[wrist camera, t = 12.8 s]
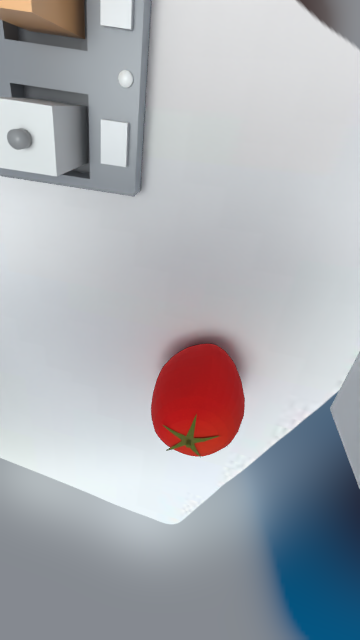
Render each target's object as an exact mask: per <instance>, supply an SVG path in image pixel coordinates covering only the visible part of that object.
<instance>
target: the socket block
mask: <svg viewBox="0 0 360 640" xmlns="http://www.w3.org/2000/svg"><path fill="white" fill-rule="evenodd" d="M150 13H151V0H84V14H85V39H80V38H73V37H67V36H60V35H53V34H46V33H39V32H33V31H28V30H25V29H23V28H20V27H18V26H15V25H13V24H10V23H8V22H5V21H3V20H0V97H13V98H35V99H42V100H49V101H55V102H62V103H69V104H75V105H82V106H87V142H88V163H87V164H85V165H82V166H80V167H78V168H75V169H73V170H71V171H68V172H66V173H64V174H61V175H59V176H50V175H44V174H37V173H31V172H24V171H18V170H11V169H5V168H0V176H4V177H11V178H18V179H24V180H31V181H37V182H44V183H50V184H57V185H63V186H70V187H76V188H83V189H89V190H96V191H102V192H109V193H116V194H122V195H129V196H135V195H136V194H137V193H138V192H139V191H140V185H141V168H142V151H143V133H144V116H145V99H146V82H147V65H148V48H149V30H150Z"/></svg>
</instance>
